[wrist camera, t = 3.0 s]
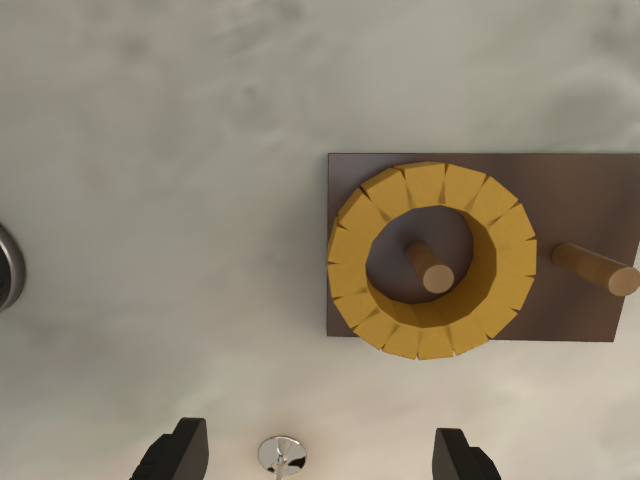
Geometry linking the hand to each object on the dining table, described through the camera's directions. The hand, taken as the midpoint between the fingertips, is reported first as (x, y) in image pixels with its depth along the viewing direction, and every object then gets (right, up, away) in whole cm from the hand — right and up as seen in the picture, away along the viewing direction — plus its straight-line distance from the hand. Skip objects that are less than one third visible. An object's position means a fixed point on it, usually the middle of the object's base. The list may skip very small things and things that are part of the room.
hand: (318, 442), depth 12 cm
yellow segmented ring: (+7, +6, +13) cm, 16 cm away
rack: (+12, +6, +14) cm, 19 cm away
